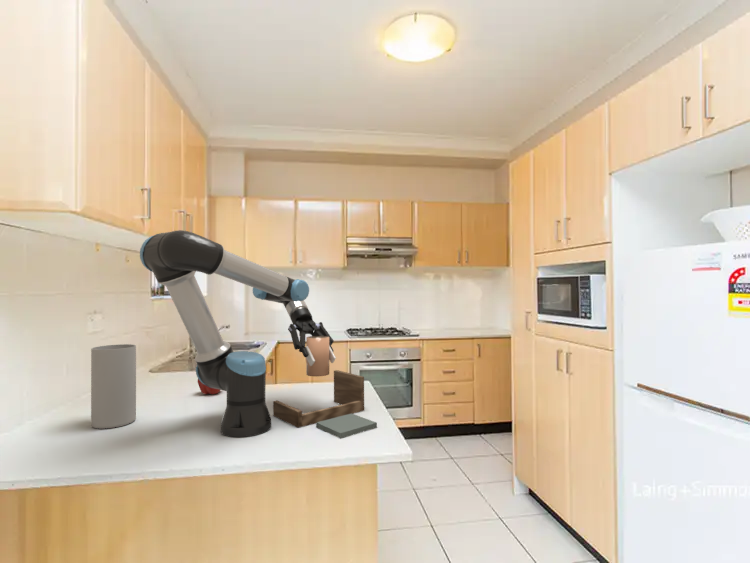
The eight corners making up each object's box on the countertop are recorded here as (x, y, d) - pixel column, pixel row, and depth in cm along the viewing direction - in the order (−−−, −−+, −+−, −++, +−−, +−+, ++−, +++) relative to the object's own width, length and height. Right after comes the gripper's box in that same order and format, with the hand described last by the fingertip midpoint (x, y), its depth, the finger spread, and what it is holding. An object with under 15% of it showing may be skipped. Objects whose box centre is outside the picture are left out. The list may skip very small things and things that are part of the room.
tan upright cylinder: (314, 377, 141) (314, 338, 141) (302, 373, 147) (302, 336, 147) (333, 374, 146) (333, 337, 146) (321, 370, 152) (321, 335, 152)
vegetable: (201, 398, 166) (201, 373, 166) (191, 394, 174) (191, 370, 174) (227, 393, 174) (227, 369, 174) (217, 389, 181) (217, 366, 181)
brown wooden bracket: (297, 427, 131) (297, 389, 131) (273, 415, 143) (273, 380, 143) (364, 410, 148) (364, 376, 148) (337, 401, 161) (336, 370, 161)
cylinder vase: (90, 432, 128) (90, 351, 128) (92, 421, 139) (92, 346, 139) (136, 424, 135) (136, 347, 135) (135, 415, 145) (135, 343, 146)
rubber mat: (340, 438, 121) (340, 433, 121) (316, 427, 131) (316, 422, 131) (376, 427, 130) (376, 422, 130) (351, 417, 140) (351, 413, 140)
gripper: (318, 318, 165) (343, 365, 153) (270, 321, 151) (292, 372, 139) (326, 305, 161) (351, 352, 149) (277, 307, 148) (301, 358, 135)
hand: (323, 362), depth 144 cm, fingers closed on tan upright cylinder, 8 cm apart
